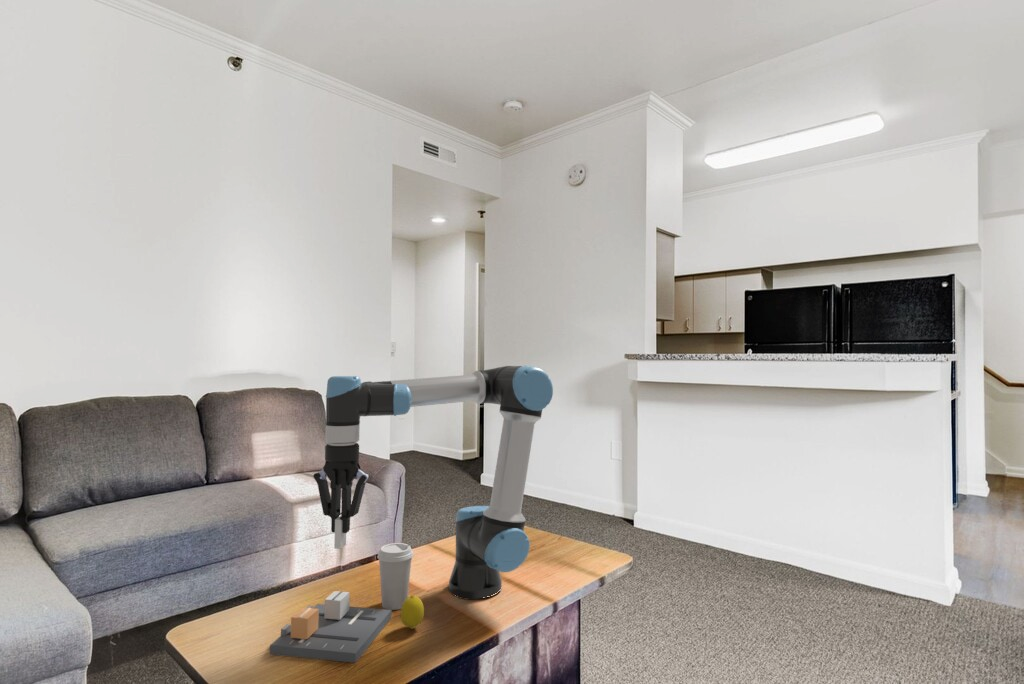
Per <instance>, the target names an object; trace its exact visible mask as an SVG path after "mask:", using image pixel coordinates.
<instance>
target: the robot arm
mask: <svg viewBox="0 0 1024 684" xmlns="http://www.w3.org/2000/svg"><path fill="white" fill-rule="evenodd" d="M326 385H327V386H326V392H325V393H326V395H325V402H326V403H325V405H326V406H325V408H326V409H325V437H324V438H325V439H324V440H325V442H326V443H327V444H325V446H324V461H325V463H324V465H323V468H322V469H321V470H320V471H318V472H316V473H314V474H313V476H312V477H313V479H314V481H315V482H316V483H317V484H316V485H317V489H318V494H319V498H320V504H321V508H322V514H323V515H324V516H327V517H330V519H331V522H330V523H331V526H330V531H331V533H334V547H333V548H334V549H340V550H341V549H342V548H344V547H345V546H346V545H347V534H348V532H350V529H351V528H350V527H351V517H355V516H356V515H357V514H358V513H359V511H360V507H361V503H362V498H363V495H364V491H365V487H366V484H367V482H368V481H369V479H370V477H371V475H370V473H365V472H364V471H363V470H361V465H360V463H359V459H360V444H359V441H360V424H361V420H360V419H361V417H374V416H375V417H380V416H381V417H383V416H393V417H397V416H401V415H402V416H403V415H406V414H408V413H409V412H410V409H411V408H414V407H425V406H435V405H445V404H446V405H447V404H456V403H457V404H458V403H465V402H475V404H477V405H479V404H493V405H499V406H500V407H499V413H500V414H501V416H502V418H503V421H502V428H501V433H500V441H499V447H498V452H497V453H498V454H497V459H496V466H495V471H494V478H493V483H492V490H491V496H490V502H489V505H474V506H466V507H463V508H460V509H458V511H456V518H455V561H454V566H453V568H452V571H451V574H450V578H449V582H448V591H449V590H450V591H449V593H450V592H451V593H452V595H453V594H454V595H453V596H455V595H456V596H455V597H457V596H458V598H460V597H461V598H460V599H464V598H468V599H467V600H479V599H478V598H483V597H487V596H491V595H493V594H495V593H497V592H498V591H499V590H500V589H501V587H502V586H503V585H502V584H503V583H502V581H503V580H502V577H501V574H500V572H501V573H510V572H512V571H515V570H516V569H518V568H519V567H520V565H523V563H525V561H526V559H527V557H528V555H529V552H530V545H531V543H530V539H529V537H528V535H527V534H526V532H525V531H524V530H525V525H526V517H525V516H524V514H523V513H522V508H523V501H524V494H525V489H526V483H527V474H528V469H529V461H530V457H531V456H530V455H531V449H532V443H533V437H534V430H535V424H536V423H537V422H538V421H540V420H541V418H542V415H543V410H544V409H545V408H546V407H547V406H548V405H549V404H550V403H551V401H552V398H553V395H554V387H553V383H552V380H551V378H550V377H549V375H548V374H547V372H545V370H543V369H542V368H539V367H535V366H531V365H505V366H499V367H493V368H489V369H483V370H475V371H473V372H472V374H463V375H450V376H437V377H426V378H425V377H421V378H410V379H398V380H397V379H395V380H386V381H385V380H383V381H363V382H362V380H361V377H360V376H357V375H356V376H355V375H352V376H351V375H349V376H348V375H342V376H341V375H337V376H336V375H335V376H331V377H329V378H328V379H327V384H326ZM327 478H328V479H327ZM355 478H356V481H357V482H356V484H355V488H354V492H353V496H352V487H353V483H354V482H353V481H354V480H355ZM328 480H329V481H328ZM328 482H330V483H329V484H328ZM329 485H330V486H329ZM502 588H503V587H502ZM501 590H502V589H501ZM451 593H450V594H451Z"/></svg>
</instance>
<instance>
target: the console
mask: <svg viewBox="0 0 1024 684" xmlns="http://www.w3.org/2000/svg"><path fill="white" fill-rule="evenodd" d="M306 608H314V609H319V620H318V629H317V630H316V631H315V632H314V633H313V634H312V635H311V636H310V637H309V638H308V639H300V638H291V623H286V624H285V625H284V626H283V627H281V629H280V636H279V637H278V638H277V639H275V640H274V641H273V642H272V643H270V645H269V654H270V655H277V656H286V657H295V658H302V659H303V658H305V659H314V660H324V661H325V660H326V661H334V662H344V663H345V662H346V663H353V664H354V663H355V664H356V663H357V662H358V661H359V659H360V658H361V657H362V656H363V655H364V653H365V651H367V649H368V648H369V647H370V645H371V644H372V643H373V642H374V641H375V640H376V638H377V637H378V636H379V634H380V633H381V632H382V631H383V629H384V628H386V626H387V624H388V623H389V622H390V620H392V613H393V612H392V611H393V610H387V609H384V608H371V607H360V606H349V611H348V612H347V613H346V614H345V615H344V616H343V617H342V618H341V619H340V620H337V619H326V618H324V615H325V603H317V604H316V605H314V606H313V605H308V606H307V607H306Z"/></svg>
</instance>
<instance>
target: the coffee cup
mask: <svg viewBox="0 0 1024 684" xmlns="http://www.w3.org/2000/svg"><path fill="white" fill-rule="evenodd" d="M411 547H412V546H411V545H410V544H407V543H404V542H403V543H402V542H392V543H387V544H385V545H383V546H381V547H380V550H379V551H378V553H377V556H376V557H377V559H378V563H379V577H380V578H379V579H380V580H379V581H380V595H381V607H382V609H385V610H392V611H397V610H401V608H402V605H403V603H404V601H405V600H406V599H407V598H409V597H408V596H409V587H410V578H411V577H410V575H411V569H412V567H411V566H412V561H413V560H412V558H413V557H414V551H413V549H412V548H411Z"/></svg>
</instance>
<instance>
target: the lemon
mask: <svg viewBox="0 0 1024 684" xmlns="http://www.w3.org/2000/svg"><path fill="white" fill-rule="evenodd" d="M424 616H425V607H424V604H423V601H422V600H421V598H419V597H418V596H415V595H413V594H411V595H410V596H409V597H408V598H407V599H406V600H405V601H404V603H403V605H402V608H401V609H400V618H401V622H402V623H403V625H404V626H405V627H407V628H409V629H410V630H413V629H415V627H418V626H419V625H420V624H422V621H423V619H424Z"/></svg>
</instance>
